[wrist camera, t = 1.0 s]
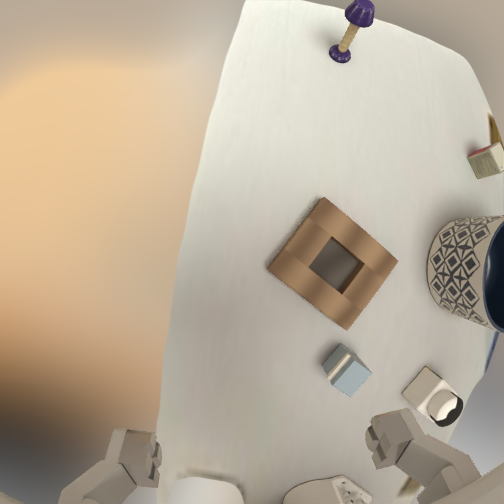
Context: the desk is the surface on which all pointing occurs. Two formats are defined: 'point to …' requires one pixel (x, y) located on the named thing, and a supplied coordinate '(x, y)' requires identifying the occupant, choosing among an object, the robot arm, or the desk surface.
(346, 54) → the toy lamp
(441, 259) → the planter
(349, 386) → the key block
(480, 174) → the small box
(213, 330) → the desk surface
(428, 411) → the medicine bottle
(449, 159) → the desk surface
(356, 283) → the wooden socket board
